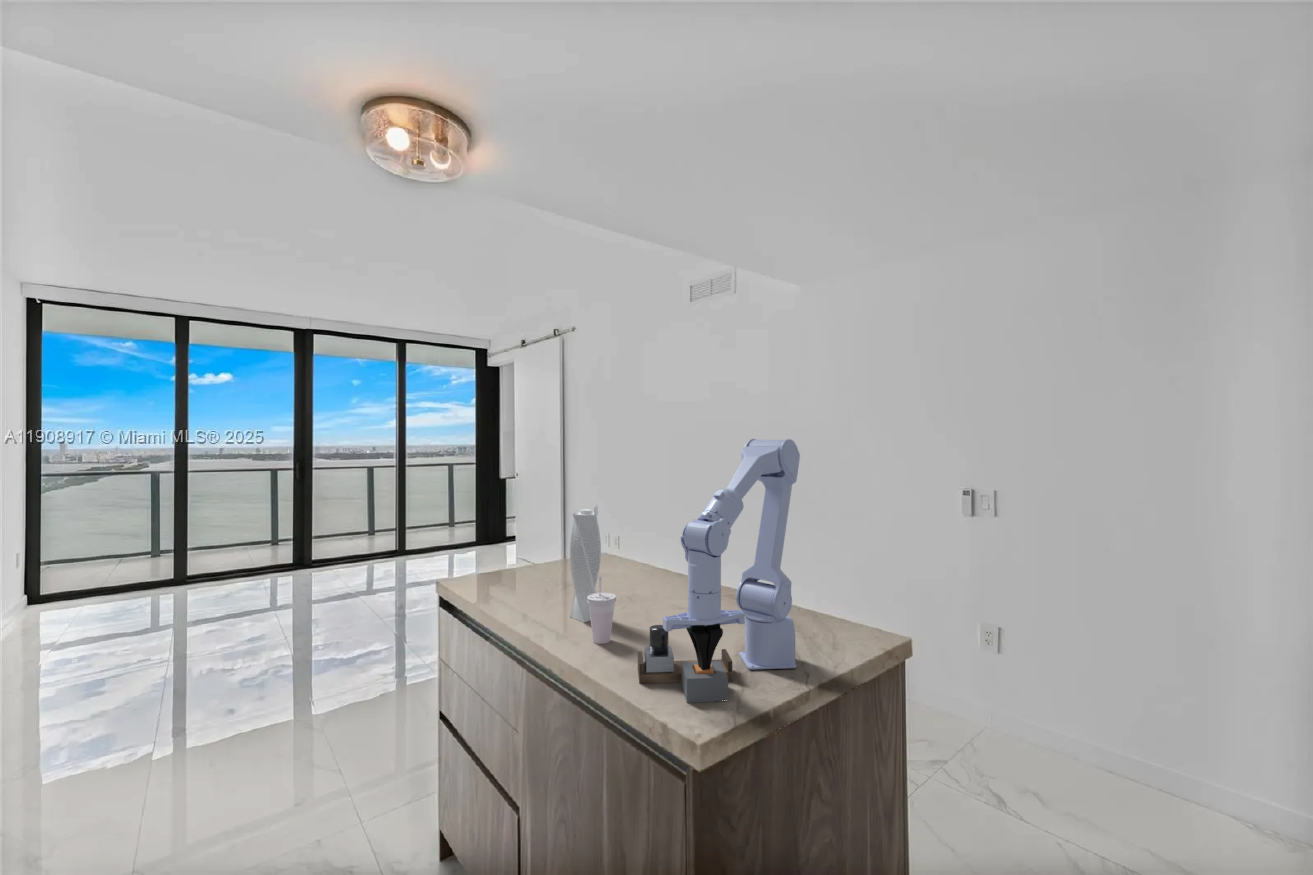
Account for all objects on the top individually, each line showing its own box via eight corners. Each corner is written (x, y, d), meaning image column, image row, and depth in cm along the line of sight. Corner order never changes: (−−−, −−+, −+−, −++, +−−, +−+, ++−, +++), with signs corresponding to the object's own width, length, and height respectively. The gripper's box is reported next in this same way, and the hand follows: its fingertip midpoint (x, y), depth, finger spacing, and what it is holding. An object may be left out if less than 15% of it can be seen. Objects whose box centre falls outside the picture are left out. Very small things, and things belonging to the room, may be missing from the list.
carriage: (670, 661, 109) (670, 623, 109) (673, 671, 104) (673, 632, 104) (644, 661, 108) (644, 623, 108) (646, 672, 103) (646, 632, 103)
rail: (725, 667, 110) (725, 649, 110) (732, 680, 104) (732, 661, 104) (637, 669, 109) (637, 651, 109) (639, 683, 103) (639, 664, 103)
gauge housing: (719, 683, 103) (719, 661, 103) (728, 701, 96) (728, 677, 96) (681, 684, 102) (681, 662, 102) (686, 702, 95) (686, 678, 95)
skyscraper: (608, 617, 140) (608, 503, 140) (584, 625, 134) (584, 506, 134) (587, 611, 145) (587, 500, 145) (563, 617, 140) (564, 503, 140)
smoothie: (601, 633, 129) (601, 571, 129) (622, 640, 125) (622, 576, 124) (580, 641, 124) (580, 576, 124) (601, 648, 120) (601, 581, 120)
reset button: (710, 684, 101) (711, 663, 101) (714, 691, 98) (714, 670, 98) (694, 684, 101) (694, 664, 101) (696, 692, 98) (696, 671, 98)
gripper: (733, 581, 105) (732, 654, 105) (657, 586, 101) (657, 663, 101) (750, 591, 98) (749, 669, 98) (670, 597, 94) (669, 679, 94)
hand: (704, 667), depth 99 cm, fingers closed, pressing on reset button
